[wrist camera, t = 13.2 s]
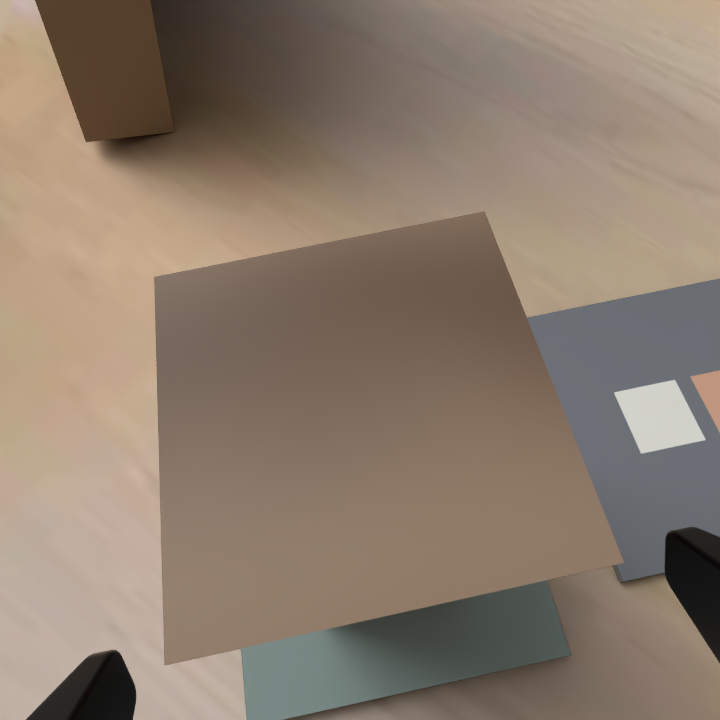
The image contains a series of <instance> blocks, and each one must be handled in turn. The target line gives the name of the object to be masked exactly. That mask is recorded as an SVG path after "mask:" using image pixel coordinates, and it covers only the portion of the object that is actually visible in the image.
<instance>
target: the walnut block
mask: <svg viewBox="0 0 720 720" xmlns="http://www.w3.org/2000/svg"><path fill="white" fill-rule="evenodd" d="M154 284H155V321H156V359H157V397H158V434H159V472H160V509H161V547H162V584H163V622H164V660H165V665H169V664H174V663H178V662H183V661H187V660H192V659H196V658H201V657H205V656H210V655H214V654H219V653H223V652H228V651H232V650H237V649H241V648H246V647H250V646H254V645H259V644H263V643H268V642H272V641H277V640H281V639H286V638H290V637H295V636H299V635H304V634H308V633H313V632H317V631H322V630H326V629H331V628H335V627H340V626H344V625H348V624H353V623H357V622H362V621H366V620H371V619H375V618H380V617H384V616H389V615H393V614H398V613H402V612H407V611H411V610H416V609H420V608H425V607H429V606H434V605H438V604H443V603H447V602H451V601H456V600H460V599H465V598H469V597H474V596H478V595H483V594H487V593H492V592H496V591H501V590H505V589H510V588H514V587H519V586H523V585H528V584H532V583H537V582H541V581H545V580H550V579H554V578H559V577H563V576H568V575H572V574H577V573H581V572H586V571H590V570H595V569H599V568H604V567H608V566H613V565H617V564H622V563H624V561H623V558H622V556H621V553H620V551H619V548H618V546H617V543H616V541H615V538H614V536H613V533H612V531H611V528H610V526H609V523H608V521H607V518H606V516H605V513H604V511H603V508H602V506H601V503H600V501H599V498H598V496H597V493H596V491H595V488H594V486H593V483H592V480H591V478H590V475H589V473H588V470H587V468H586V465H585V463H584V460H583V458H582V455H581V453H580V450H579V448H578V445H577V443H576V440H575V438H574V435H573V433H572V430H571V428H570V425H569V423H568V420H567V418H566V415H565V413H564V410H563V408H562V405H561V403H560V400H559V398H558V395H557V393H556V390H555V388H554V385H553V383H552V380H551V378H550V375H549V373H548V370H547V368H546V365H545V362H544V360H543V357H542V355H541V352H540V350H539V347H538V345H537V342H536V340H535V337H534V335H533V332H532V330H531V327H530V325H529V322H528V320H527V317H526V315H525V312H524V310H523V307H522V305H521V302H520V300H519V297H518V295H517V292H516V290H515V287H514V285H513V282H512V280H511V277H510V275H509V272H508V270H507V267H506V265H505V262H504V260H503V257H502V255H501V252H500V249H499V247H498V244H497V242H496V239H495V237H494V234H493V232H492V229H491V227H490V224H489V222H488V219H487V217H486V214H485V212H480V213H475V214H470V215H465V216H460V217H455V218H450V219H445V220H440V221H435V222H430V223H424V224H419V225H414V226H409V227H404V228H399V229H394V230H389V231H384V232H379V233H374V234H369V235H364V236H359V237H354V238H349V239H344V240H339V241H334V242H329V243H324V244H319V245H314V246H309V247H303V248H298V249H293V250H288V251H283V252H278V253H273V254H268V255H263V256H258V257H253V258H248V259H243V260H238V261H233V262H228V263H223V264H218V265H213V266H208V267H203V268H198V269H193V270H187V271H182V272H177V273H172V274H167V275H162V276H157V277H154Z"/></svg>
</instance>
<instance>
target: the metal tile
mask: <svg viewBox="0 0 720 720" xmlns="http://www.w3.org/2000/svg"><path fill="white" fill-rule="evenodd" d="M527 320H528V322H529V325H530V327H531V330H532V332H533V335H534V337H535V340H536V342H537V345H538V347H539V350H540V352H541V355H542V357H543V360H544V362H545V365H546V368H547V370H548V373H549V375H550V378H551V380H552V383H553V385H554V388H555V390H556V393H557V395H558V398H559V400H560V403H561V405H562V408H563V410H564V413H565V415H566V418H567V420H568V423H569V425H570V428H571V430H572V433H573V435H574V438H575V440H576V443H577V445H578V448H579V450H580V453H581V455H582V458H583V460H584V463H585V465H586V468H587V470H588V473H589V475H590V478H591V480H592V483H593V486H594V488H595V491H596V493H597V496H598V498H599V501H600V503H601V506H602V508H603V511H604V513H605V516H606V518H607V521H608V523H609V526H610V528H611V531H612V533H613V536H614V538H615V541H616V543H617V546H618V548H619V551H620V553H621V556H622V558H623V561H624V563H622V564H617V565H613V566H614V569H615V571H616V574H617V576H618V579H619V582H624V581H629V580H633V579H638V578H642V577H647V576H651V575H656V574H660V573H665V570H664V565H665V537H666V534H667V533H668V532H669V531H671V530H675V529H679V528H684V527H691V526H693V527H697V528H700V529H702V530H705V531H707V532H709V533H712V534H714V535H717V536H719V537H720V279H716V280H711V281H706V282H701V283H696V284H692V285H687V286H682V287H677V288H672V289H667V290H662V291H657V292H652V293H647V294H642V295H637V296H632V297H627V298H622V299H617V300H612V301H607V302H603V303H598V304H593V305H588V306H583V307H578V308H573V309H568V310H563V311H558V312H553V313H548V314H543V315H538V316H533V317H528V318H527Z"/></svg>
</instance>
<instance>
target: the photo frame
mask: <svg viewBox="0 0 720 720" xmlns="http://www.w3.org/2000/svg"><path fill="white" fill-rule="evenodd" d="M35 1H36V4H37V7H38V10H39V12H40V15H41V18H42V21H43V23H44V26H45V29H46V32H47V35H48V37H49V40H50V43H51V46H52V48H53V51H54V54H55V57H56V60H57V62H58V65H59V68H60V71H61V73H62V76H63V79H64V82H65V85H66V87H67V90H68V93H69V96H70V99H71V101H72V104H73V107H74V110H75V112H76V115H77V118H78V121H79V124H80V126H81V129H82V132H83V135H84V137H85V140H86V142H91V141H100V140H108V139H117V138H126V137H135V136H143V135H152V134H161V133H169V132H174V127H173V122H172V116H171V111H170V105H169V100H168V94H167V89H166V83H165V78H164V72H163V67H162V61H161V56H160V50H159V45H158V39H157V34H156V28H155V23H154V17H153V12H152V6H151V1H150V0H35Z"/></svg>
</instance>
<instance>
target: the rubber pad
mask: <svg viewBox="0 0 720 720" xmlns="http://www.w3.org/2000/svg"><path fill="white" fill-rule="evenodd" d="M241 655H242V667H243V680H244V692H245V704H246V717H247V720H284V719H288V718H293V717H297V716H302V715H306V714H311V713H315V712H320V711H324V710H328V709H333V708H337V707H342V706H346V705H351V704H355V703H360V702H364V701H369V700H373V699H378V698H382V697H387V696H391V695H395V694H400V693H404V692H409V691H413V690H418V689H422V688H427V687H431V686H436V685H440V684H445V683H449V682H454V681H458V680H463V679H467V678H471V677H476V676H480V675H485V674H489V673H494V672H498V671H503V670H507V669H512V668H516V667H521V666H525V665H530V664H534V663H538V662H543V661H547V660H552V659H556V658H561V657H565V656H570V655H571V653H570V650H569V646H568V643H567V640H566V637H565V634H564V631H563V628H562V625H561V622H560V619H559V616H558V613H557V610H556V607H555V604H554V601H553V598H552V595H551V592H550V588H549V585H548V582H547V580H545V581H541V582H537V583H532V584H528V585H523V586H519V587H514V588H510V589H505V590H501V591H496V592H492V593H487V594H483V595H478V596H474V597H469V598H465V599H460V600H456V601H451V602H447V603H443V604H438V605H434V606H429V607H425V608H420V609H416V610H411V611H407V612H402V613H398V614H393V615H389V616H384V617H380V618H375V619H371V620H366V621H362V622H357V623H353V624H348V625H344V626H340V627H335V628H331V629H326V630H322V631H317V632H313V633H308V634H304V635H299V636H295V637H290V638H286V639H281V640H277V641H272V642H268V643H263V644H259V645H254V646H250V647H246V648H241Z"/></svg>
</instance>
